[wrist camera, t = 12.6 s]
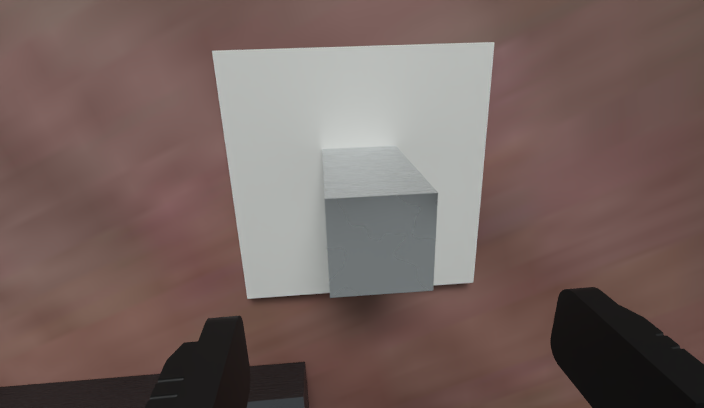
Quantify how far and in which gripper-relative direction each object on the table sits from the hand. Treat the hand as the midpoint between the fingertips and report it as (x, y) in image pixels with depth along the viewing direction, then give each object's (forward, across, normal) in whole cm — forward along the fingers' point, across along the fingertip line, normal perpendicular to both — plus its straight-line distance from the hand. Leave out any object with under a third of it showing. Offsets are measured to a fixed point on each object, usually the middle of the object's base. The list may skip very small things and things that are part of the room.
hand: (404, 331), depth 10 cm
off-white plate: (+14, 0, 0) cm, 14 cm away
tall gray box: (+13, 0, 0) cm, 13 cm away
